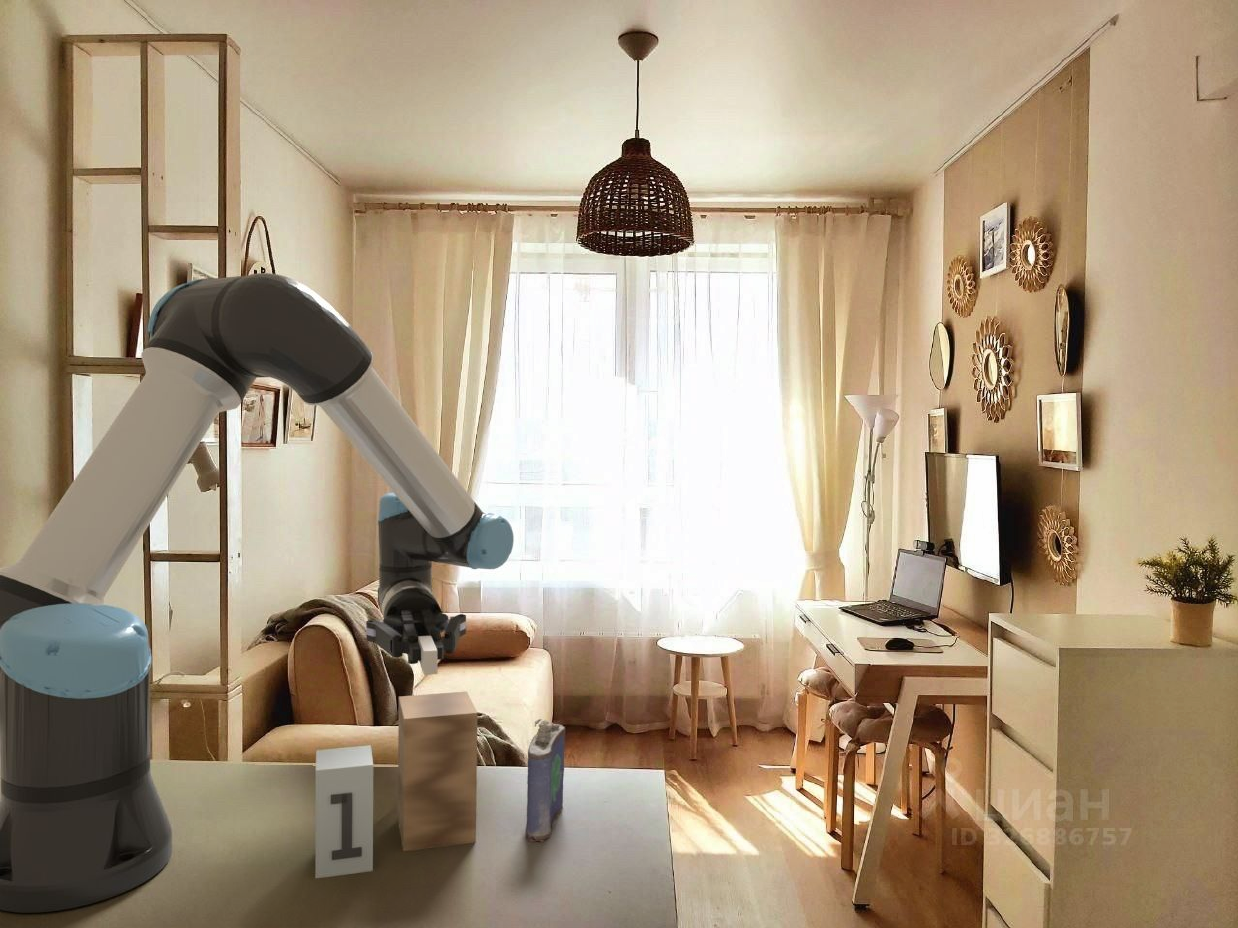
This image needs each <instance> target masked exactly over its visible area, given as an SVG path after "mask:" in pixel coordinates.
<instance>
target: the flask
mask: <svg viewBox="0 0 1238 928" xmlns="http://www.w3.org/2000/svg"><path fill="white" fill-rule="evenodd" d="M537 725H538V727H539V728H538V729H537V732H536V734H535V735H534V736H533V737H532V739H531V741H530V743H529V747H528V749H527V781H526V782H527V783H526V785H527V789H526V790H527V791H526V793H527V796H526V797H527V800H526V826H525V836H526V839H528V841H531V842H533V843H534V842H536V841H537V842H538V841H539V842H541V843H542V842H544V841H545V840H546V839H549V838H550V836H552V830H553V829H554V828H555V826H556V819H558V818H559V817H558V815H559V814H561V812H562V811H563V809H564V807H563V806H564V805H563V804H564V775H565V741H566V740H565V739H566V727H565V726H563V724H559V723H554V722H551V723H550V722H549V721H548V720H546V719H543V720H542V719H541V718H538V719H537V720H535V721H534V727H537Z"/></svg>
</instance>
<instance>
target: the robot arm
mask: <svg viewBox="0 0 1238 928" xmlns="http://www.w3.org/2000/svg"><path fill="white" fill-rule="evenodd" d="M147 325H148V326H147V332H148V333H149V339H148V344H146V346H145V347H144V349H143V350H142V352H141V354H140V356H141V361H142V363H143V367H144V369H145V373H144V374H145V375H144V376H143V377H142V379H141V381H140V382H139V384H138V386H137V387H136V388H135V389H134V391H133V392H132V394H131V395H130V397H129V398H128V400H127V401H126V402H125V404H124V406H123V407H122V409H121V410H120V411H119V414H117V416H116V417H115V419H114V421H113V422H112V424H111V425H110V426H109V428H108V430H107V431H106V433H105V434H104V435H103V437H102V438H101V440H100V441H99V443H98V444H97V446H96V447H95V449H94V450H93V452H92V453H91V454H90V456H89V458H88V459H87V461H86V462H85V464H84V465H83V467H82V468H81V469H80V471H78V474H77V475H76V477H75V479H74V480H73V481H72V483H71V484H70V486H69V487H68V489H67V490H66V491H65V493H64V494H63V496H62V498H61V499H60V501H59V502H58V503H57V505H56V507H54V509H53V511H52V512H51V514H50V516H49V517H48V518H47V520H46V521H45V523H44V524H43V526H42V527H41V529H40V530H39V532H38V533H37V534H36V536H35V537H34V539H33V540H32V542H31V544H30V545H29V547H28V548H27V550H26V551H25V552H24V554H23V555H22V557H21V558H20V559H19V560H18V561H16V562H15V563H13V564H11V565H6V566H4V567H0V791H1V792H0V793H1V794H0V910H1V911H5V912H11V913H23V914H24V913H25V914H27V913H28V914H30V913H31V914H32V913H46V912H56V911H58V912H59V911H64V910H68V909H74V908H78V907H80V908H81V907H82V906H83V907H84V906H87V905H88V906H89V905H92V904H95V903H98V902H101V901H104V900H107V899H110V898H114V897H115V896H118V895H120V894H123V893H125V892H127V891H128V892H129V890H132V889H134V888H136V887H139V886H140V885H141V884H143V883H145V882H147V881H149V880H150V879H151V878H153V877H154V876H156V874H158V873H159V872H160V871H161V870H162V869H163V868H165V866H167V864H168V862H169V861H170V858H171V856H172V853H173V833H172V832H173V830H172V826H171V822H170V820H169V818H168V815H167V812H166V809H165V807H164V805H163V803H162V799H161V797H160V794H159V793H158V789H157V787H156V785H155V781H154V779H153V777H152V773H151V667H152V663H153V662H152V660H153V659H152V653H151V652H152V650H151V647H150V642H149V641H150V639H149V632H148V628H147V626H146V623H145V622H144V621H143V619H141V617H140V616H138V615H136V614H135V613H133V612H131V611H129V610H127V609H124V608H121V607H119V606H118V607H117V606H113V605H109V604H105V603H104V602H105V601H104V600H105V596H106V595H107V594H108V592H109V590H110V588H111V587H112V586H113V584H114V581H115V580H116V579H117V577H118V575H119V573H120V572H121V571H122V570H123V568H124V566H125V564H126V563H127V562H128V559H129V558H130V556H131V554H132V552H133V551H134V550H135V548H136V547H137V545H138V544H139V542H140V540H141V538H142V537H143V536H144V534H145V532H146V531H147V529H148V527H149V525H150V524H151V522H152V521H153V520H154V518H155V516H156V514H157V513H158V511H159V509H160V508H161V506H162V504H163V503H164V501H165V499H166V498H167V497H168V495H169V493H170V492H171V490H172V488H173V487H174V485H175V484H176V482H177V481H178V479H179V477H180V476H181V474H182V472H183V471H184V469H185V468H186V466H187V464H188V462H189V461H190V459H191V458H192V456H193V454H194V453H195V451H196V450H197V449H198V447H199V445H200V444H201V442H202V440H203V438H204V437H205V435H206V434H207V432H208V431H209V429H210V427H211V426H212V424H213V422H214V421H215V419H216V418H217V416H218V414H219V413H222V412H228V411H231V410H235V409H238V408H239V406H241V403H242V402H243V401H244V399H245V397H246V396H247V394H248V392H249V391H250V389H251V387H252V386H253V384H254V383H255V381H256V379H257V378H271V379H275V380H277V381H280V382H282V383H283V384H285V385H286V386H288V387H289V388H291V389H292V390H293V391H294V392H295V393H296V394H297V395H298V397H299V398H301V400H302V401H303V402H304V403H305V404H306V405H309V406H318V407H319V408H320V409H321V410H322V411H323V412H324V413H325V414H326V415H327V416H328V418H329V419H330V420H331V421H332V423H333V424H334V425H335V426H336V427H337V428H338V429H339V431H341V433H342V434H343V435H344V437H345V438H346V439H347V441H349V443H351V444H352V446H353V447H354V448H355V449H356V451H357V452H358V453H359V455H360V456H362V457H363V459H364V460H365V462H367V463H368V465H369V466H370V467H371V468H372V469H373V470H374V471H375V473H376V474H377V475H378V476H379V477H380V479H382V481H383V482H384V483H385V484H386V486H387V487H388V488H389V489H390V490H391V491H392V492H389V493H386V494H384V495H382V496H381V497H380V499H379V504H378V505H379V506H378V507H379V509H378V510H379V511H378V520H377V525H378V556H379V564H378V565H379V568H378V585H379V586H378V588H377V604H378V606H379V608H380V610H381V613H382V618H383V619H382V620H379V621H378V620H375V619H368V620H366V622H365V624H366V626H365V627H366V628H365V632H366V633H365V634H366V642H370V643H373V644H375V645H377V646H379V648H381V649H382V650H384V652H386V653H388V655H389V656H391V657H393V658H395V659H399V658H402V657H403V654H406V655H407V664H409V665H415V664H418V663H419V664H420V667H421V669H422V673H423V675H424V676H429V675H438V674H439V673H438V661H439V660H443V659H444V655H445V654H447V655H452V654H454V653H455V651H456V649H457V647H458V644H459V641H460V638H461V637H463V636H465V635H466V634H467V615H466V614H464V613H459V614H456V615H455V616H450V617H449V616H448V615H447V614H446V613H443V611H442V608H441V606H440V604H439V602H438V601H437V598H436V597H435V595H434V593H433V590H432V587H433V586H432V583H433V582H432V578H433V577H432V573H433V572H432V567H433V565H432V564H433V563H440V564H445V565H446V564H447V565H453V566H458V567H465V568H470V569H471V570H478V569H480V570H481V569H483V570H495V569H499V568H500V567H501V566H503V565H504V564H505V563H506V562H507V561H508V559H509V558H510V556H511V554H512V550H513V547H514V541H515V540H514V532H513V531H514V530H513V528H512V526H511V524H510V522H509V521H508V519H506V518H505V517H503V516H501V515H495V514H494V513H490V512H489V513H485V512H483V510H482V508H480V506H479V505H478V504H477V503H476V502H475V500H474V499H473V498H472V496H471V495H470V494H469V492H468V491H467V490H466V488H465V487H464V486H463V485H462V483H461V482H460V480H458V478H457V477H456V475H455V474H454V473H453V471H452V470H451V469H450V467H449V466H448V465H447V463H446V461H444V460H443V458H442V457H441V456H440V454H439V453H438V452H437V450H436V449H435V448H434V446H433V445H432V444H431V443H430V441H429V439H428V438H427V437H426V436H425V434H424V433H423V432H422V431H421V429H420V428H419V426H417V424H416V423H415V421H414V420H413V419H412V418H411V416H410V415H409V414H408V412H407V411H406V410H405V408H404V407H403V405H402V404H400V402H399V400H398V399H397V398H396V397H395V395H394V394H393V393H392V391H391V390H390V389H389V388H388V386H387V384H386V383H385V382H384V381H383V380H382V378H381V376H380V375H379V374H378V373H377V371H376V370H375V369H374V367H373V364H374V355H373V352H372V351H371V350H370V348H369V346H367V344H366V343H365V341H364V340H363V339H362V338H361V337H360V335H359V334H358V333H357V331H356V330H355V329H354V328H353V327H352V325H351V324H350V323H349V322H348V321H347V320H346V319H345V318H344V317H343V316H342V315H341V314H340V313H339V312H338V311H337V310H336V309H335V308H334V307H333V306H332V305H331V304H330V303H328V302H327V301H326V300H325V299H324V298H322V296H321V295H319V294H318V293H317V292H316V291H313V290H312V289H310V288H309V287H308V286H306V285H304V284H303V283H301V282H299V281H297V280H296V279H293V278H291V277H288V276H285V275H281V274H277V273H271V272H270V273H269V272H268V273H267V272H264V273H263V272H262V273H261V272H259V273H253V274H247V275H238V276H226V277H205V278H198V279H193V280H191V281H188V282H186V283H182V284H180V285H177V286H176V287H173V288H172V289H170V290H168V291H167V292H166V293H165V294H163V296H161V297H160V298H159V300H158V301H157V302H156V303H155V304H154V307H153V309H152V311H151V313H150V316H149V320H148V324H147ZM442 633H443V635H444V636H441V634H442Z"/></svg>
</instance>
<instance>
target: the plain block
mask: <svg viewBox="0 0 1238 928" xmlns="http://www.w3.org/2000/svg"><path fill="white" fill-rule="evenodd" d="M397 726H398V736H397V737H398V738H397V739H398V744H397V745H398V748H397V749H398V751H397V761H398V762H397V764H398V765H397V766H398V767H397V773H398V774H397V823H398V828H399V829H398V830H399V834H400V835H399V836H400V839H401V840H400V841H401V845H402V851H403V852H408V851H415V850H423V849H424V850H425V849H432V848H439V847H440V848H441V847H448V846H454V845H463V844H473V843H476V842H477V788H478V787H477V781H478V780H477V779H478V778H477V777H478V775H477V774H478V770H477V769H478V764H477V763H478V711H477V709H476V707H475V706H474V704H473V701H472V698H471V697H470V695H469V693H468V691H467V690H466V691H453V692H444V693H443V692H442V693H429V694H427V693H426V694H417V695H415V694H414V695H405V696H404V695H403V696H398V725H397Z"/></svg>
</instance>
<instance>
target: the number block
mask: <svg viewBox="0 0 1238 928" xmlns="http://www.w3.org/2000/svg"><path fill="white" fill-rule="evenodd" d="M315 751H316V753H315V879H321V878H329V877H336V876H345V875H352V874H358V873H359V874H360V873H367V872H373V870H374V867H373V865H374V862H373V861H374V859H373V858H374V846H373V845H374V760H373V754H372V753H373V752H372V745H370V744H369V745H358V746H350V747H349V746H347V747H337V748H328V749H327V748H326V749H316V750H315Z"/></svg>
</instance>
